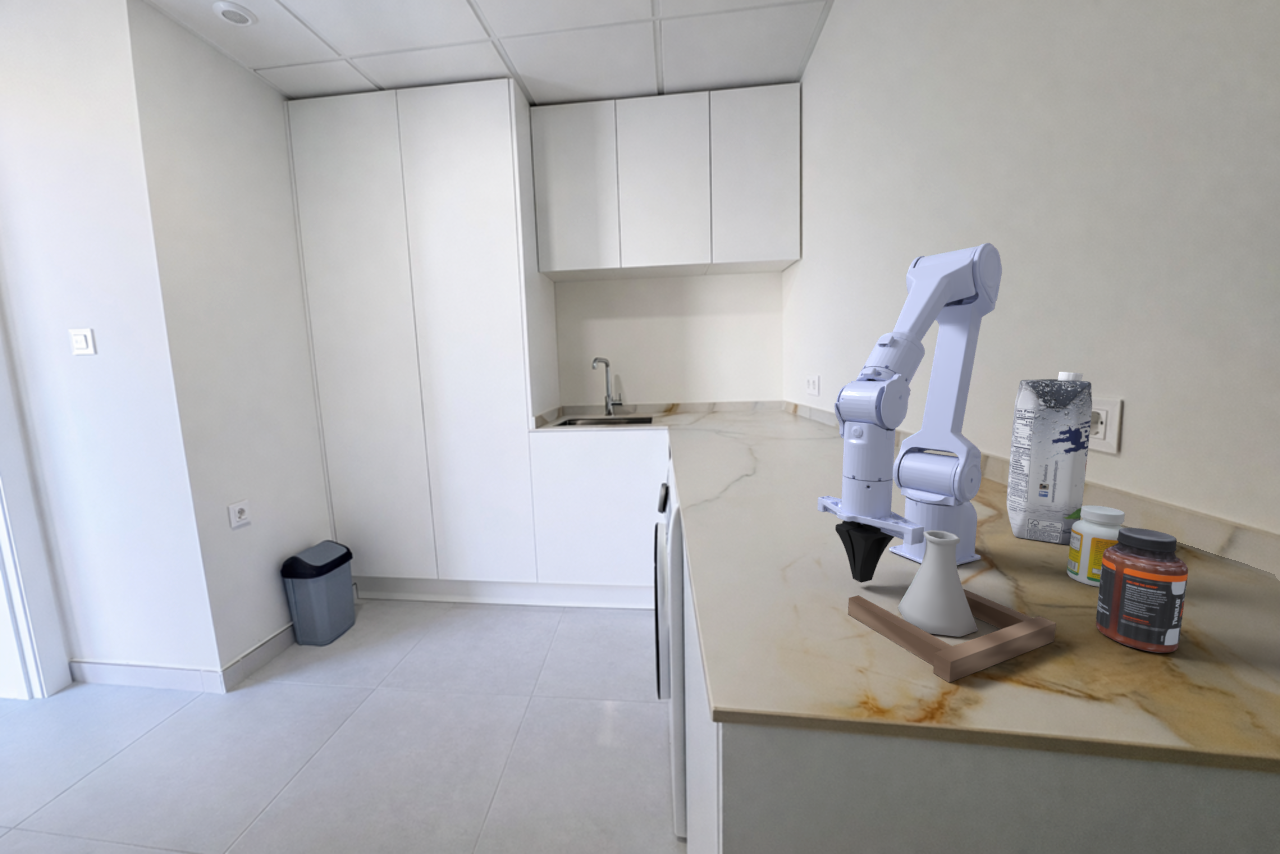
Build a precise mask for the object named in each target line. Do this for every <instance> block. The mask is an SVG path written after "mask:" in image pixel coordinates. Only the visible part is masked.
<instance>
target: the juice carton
mask: <svg viewBox="0 0 1280 854" xmlns="http://www.w3.org/2000/svg"><path fill="white" fill-rule="evenodd" d="M1083 377H1084V373H1081V372H1070V371H1059V372H1058V377H1057V379H1054V378H1048V379H1047V378H1046V379H1045V378H1043V379H1022V380H1020V381H1019V385H1018V388H1017V392H1016V393H1017V394H1016V397H1015V402H1014V408H1013V420H1012V432H1011V444H1010V455H1009V464H1008V465H1009V467H1008V479H1007V490H1006V491H1007V492H1006V510H1007V515H1008V520H1009V524H1010V526H1011V531H1012V534H1013V535H1014V537H1015V538H1019V539H1025V540H1026V539H1027V540H1033V541H1034V540H1035V541H1041V542H1046V543H1054V544H1059V545H1067V546H1070V539H1071V531H1072V525H1073V524H1074V523H1075V522H1076V521H1079V520H1082V518H1081V515H1080V514H1081V508H1082V506H1083V501H1084V492H1085V483H1086V482H1085V481H1086V473H1087V465H1088V464H1087V463H1088V454H1089V446H1090V445H1089V442H1090V436H1091V426H1092V425H1091V423H1092V416H1093V413H1092V412H1093V393H1092V390H1093V389H1092V383H1091V381H1089V380H1088V381H1087V380H1083Z"/></svg>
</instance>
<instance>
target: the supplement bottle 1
mask: <svg viewBox="0 0 1280 854" xmlns="http://www.w3.org/2000/svg"><path fill="white" fill-rule="evenodd" d="M1080 515H1081V519H1080V520H1079V521H1076V522H1075V523H1074V524H1073V525H1072V531H1071V539H1070V545H1069V548H1068V549H1069V550H1068V557H1067V564H1066V565H1067V566H1066V573H1067V575H1068V576H1069V577H1070V578H1071V579H1073V580H1075V581H1077V582H1079V583H1082V584H1085V585H1089V586H1092V587H1098V588H1099V585H1100V576H1101V567H1102V558H1103V553H1104V551H1105V550H1106V549H1107V548H1109V547H1111V546H1114V545H1115V544H1117V543H1118V541H1117V538H1118V533H1119V529H1121V528H1124V527H1123V526H1121V525H1123V524H1124V522H1125V515H1126V514H1125V512H1124V511H1122V510H1121V509H1118V508H1113V507H1109V506H1104V505H1103V506H1101V505H1093V504H1091V505H1090V504H1086V505H1082V508H1081V514H1080Z"/></svg>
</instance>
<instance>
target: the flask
mask: <svg viewBox="0 0 1280 854" xmlns="http://www.w3.org/2000/svg"><path fill="white" fill-rule="evenodd" d="M923 534H924V537H925V538H926V550H925V553H924V557H923V560H922V563H920V566H919V568H918V570H917V571H916V574H915V576H914V577H913V579H912V581H911V582H910V584H909V587H908V588H907V590H906V592H905V593H904V594H903V595H904V596H903V597H902V599H901V601H900V602H899V604H898V605H897V609H898V611H899V613H900V614H901V616H902V619H903V620H905V621H907V622H909V623H911V624H912V625H914V626H916V627H918V628H920V629H922V630H924V631H925V632H927V633H929V634H931V635H932V634H933V635H941V636H949V637H958V638H959V637H963V636H966V635H968V634H969V635H970V634H972V633H975V632H978V627H977V624H976V622H975V618H974V616H973V615H972V613H971V610H970V607H969V605H968V602H967V599H966V596H965V593H964V590H963V589H964V587H963V584H962V580H961V578H960V574H959V573H958V565H957V563H956V557H955V555H956V544H958V543H959V542H960V538H959V537H957V536H956V535H955V534H952V533H949V532H946V531H936V530H930V531H925V532H924V533H923Z"/></svg>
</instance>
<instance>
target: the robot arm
mask: <svg viewBox="0 0 1280 854" xmlns="http://www.w3.org/2000/svg"><path fill="white" fill-rule="evenodd" d="M1002 274H1003V266H1002V260H1001V255H1000V252H999V250H998V249H997V248H996V247H995V246H994V245H993V244H992V243H990V242H985V243H981V244H980V245H976V246H971V247H967V248H962V249H956V250H951V251H946V252H942V253H941V252H940V253H937V254H931V255H926V256H925V255H920V256H916V257H915V258H913V260H912V261H911V263H910V265H909V266H908V270H907V273H906V275H905V277H906V278H905V284H906V285H905V286H906V290H907V294H908V295H907V296H906V298H905V302H904V304H903V306H902V308H901V310H900V314H899V316H898V318H897V321H896V323H895V326H894V327H893V330H892V331H890V332H887V333H883V334H882V335H881V336H879V338H877V341H876V342H875V345H874V346H873V348H872V350H871V352H870V353H869V356H868V357H867V359H866V361H865V363H864V365H863V366H862V369H860V371H859V374H858V375H857V377H856V379H855V380H851V381H850V382H848V383H847V384H845V385H844V386H843V387H841V389H840V390H839V391H838V394H837V397H836V402H835V403H834V408H833V409H834V414H835V416H836V419H837V421H838V424H839V435H840V438H842V439H843V453H842V454H843V455H842V456H843V457H842V481H841V498H840V497H835V496H830V495H824V496H819V497H817V511H819V512H821V513H826V512H827V513H830V514H831V515H835V516H836V518H838V519H839V520H842V523H841V522H840V523H837V524H835V532H836V533H837V535H838V537H839V539H840V540H841V543H842V545H843V547H844V550H845V553H846V555H847V560H848V563H849V567H850V572H851V576H852V579H853V580H854V581H856V582H859V583H860V584H861V583H865V582H870V581H873V579H874V576H875V572H876V569H877V567H878V566H877V565H878V563H879V562H880V560H881V557H882V555H883V553H884V551H885V550H886V548H887V547H888V546H889V544H890V543H891V542H892V540H893V539H894V538H898V539H900V540H903V541H902V544H898V545H894V546H890V547H888V550H889V551H890V552H892V553H894V554H897V555H899V556H902V557H904V558H907V559H910V560H911V561H914V562H916V563H919V564H921V563H922V560H923V557H924V553H925V550H926V538H925V537H924V534H923V533H924V532H925V531H930V530H936V531H946V532H949V533H952V534H955V535H956V536H957V537H959V538H960V542H959V543H958V544H956V555H955V557H956V563H957V566H958V565H962V564H967V563H972V562H975V561H980V560H981V559H982V558H981V557H982V556H981V555H979V554H977V553H976V551H975V550H976V541H977V540H976V539H977V538H976V537H977V527H978V513H977V511H976V508H975V506H974V505H973V503H972V502H971V501H972V499H974V498H975V497H976V496H977V494H978V492H979V490H980V488H981V482H982V468H981V464H982V463H981V461H982V451H981V450H980V449H979V448H978V446H976V445H975V444H974V443H973V442H972V441H971V440H969V439H968V438H967V437H966V436H964V434H962V430H963V425H964V421H965V420H964V419H965V414H966V408H967V402H968V397H969V391H970V385H971V380H972V375H973V369H974V362H975V357H976V351H977V346H978V340H979V334H980V331H981V330H980V329H981V325H982V319H983V317H984V316H986V315H988V314H990V313H992V312H993V311H994V310H995V309H996V304H997V301H998V299H999V298H998V296H999V293H1000V292H999V291H1000V286H1001V280H1002ZM936 321H937V323H938V330H937V331H938V332H937V337H936V344H935V349H934V354H933V359H932V365H931V366H932V367H931V371H930V378H929V382H928V390H927V394H926V400H925V405H924V411H923V417H922V423H921V427H920V429H919V430H918V431H917V432H915V433H913V434H911V435H909V436H908V437H906V438H905V439H903V440H902V441H901V446H900V449H899V451H898V454H897V457H896V458H895V446H896V445H895V444H896V443H895V441H896V429H897V428H898V427H900V425H901V424H902V423H903V422H904V420H905V419H906V416H907V412H908V409H909V398H910V395H911V388H910V383H911V382H912V380H913V378H914V376H915V374H916V372H917V370H918V368H919V367H920V364H921V362H922V360H923V359H924V356H925V354H926V350H925V347H924V344H923V343H922V340H923V339H924V337H925V336H926V334H927V332H928V331H929V330H930V328H931V327H932V325H933V324H934V322H936ZM925 451H926V452H925ZM927 451H935V452H942V453H950V454H955V455H949V454H941V453H934V452H927ZM894 459H895V460H894ZM893 483H895V485H896V487H897V488H898V489H900V495H901V496H905V499H904V503H905V505H904V517H903V516H901V515H900V514H897V513H896V512H894V511H892V501H893V499H892V498H893Z"/></svg>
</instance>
